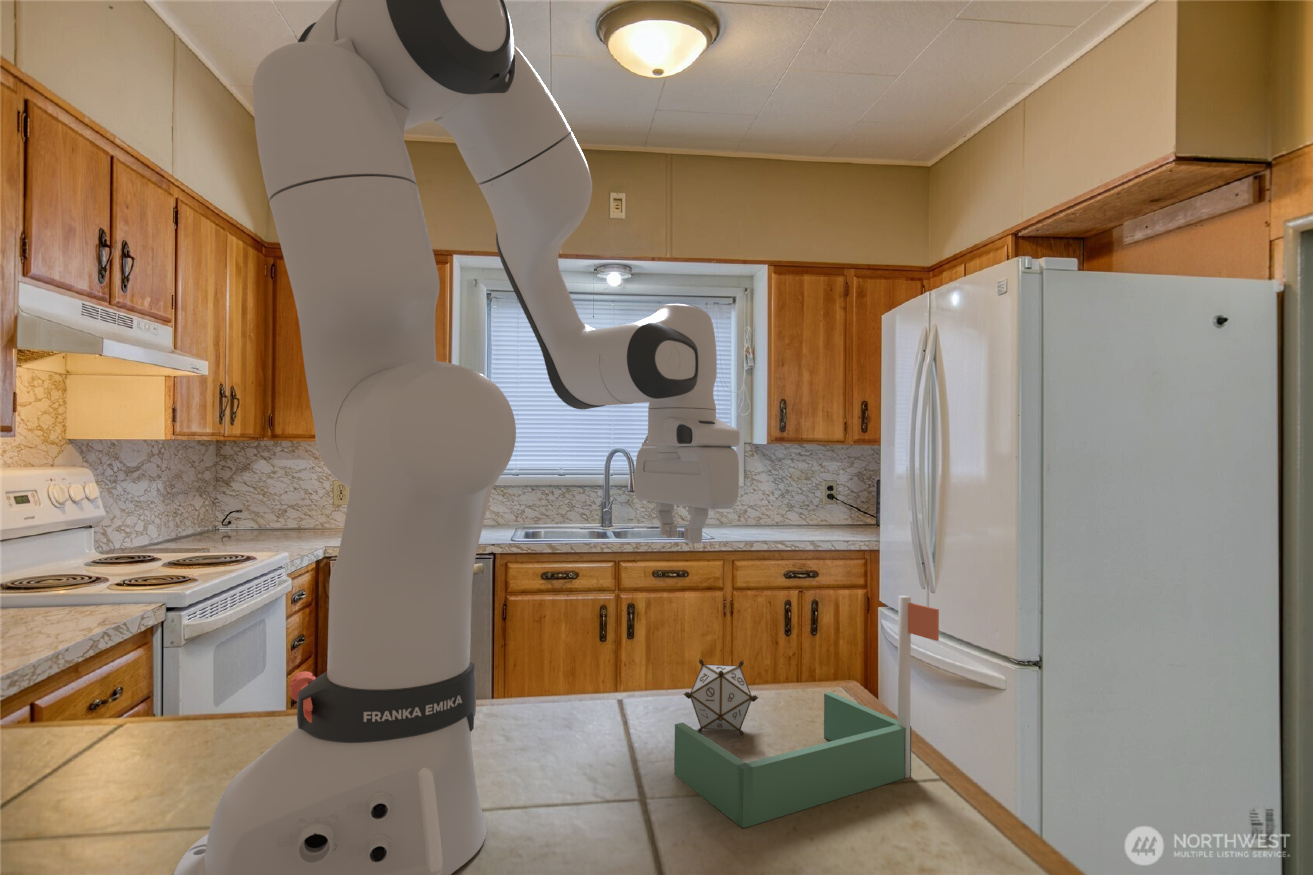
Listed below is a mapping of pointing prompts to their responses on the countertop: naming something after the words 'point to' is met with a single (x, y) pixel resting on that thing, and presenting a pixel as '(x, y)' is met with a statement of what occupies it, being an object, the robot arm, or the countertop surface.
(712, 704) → the game die
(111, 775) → the countertop surface
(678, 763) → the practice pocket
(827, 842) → the countertop surface
